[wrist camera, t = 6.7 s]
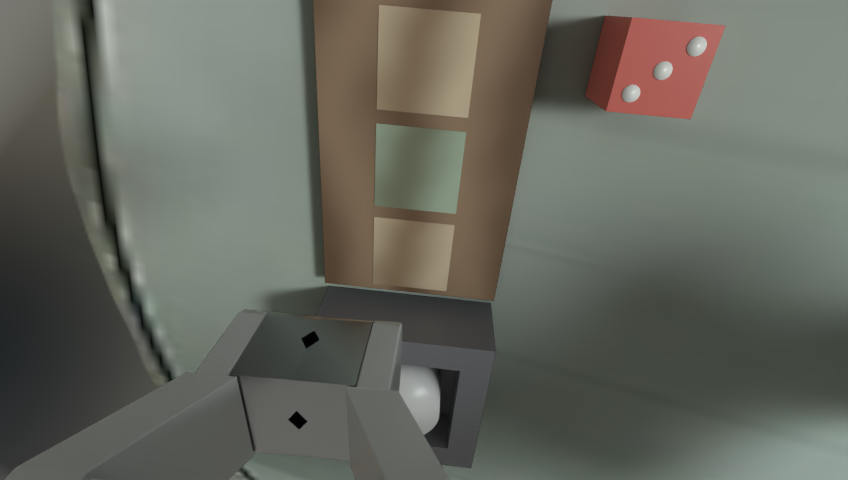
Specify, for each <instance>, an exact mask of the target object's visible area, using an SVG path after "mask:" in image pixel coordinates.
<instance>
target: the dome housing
mask: <svg viewBox="0 0 848 480" xmlns="http://www.w3.org/2000/svg"><path fill="white" fill-rule="evenodd" d="M316 316H318V317H327V318H340V319H353V320H366V321H390V322H401V323H402V329H403V331H402V357H401V364H402V365H411V366H420V367H429V368H438V370H439V372H440V375H441V393H440V412H439V419H438V422H437V424H436V425H435V427H434V428H433V429H432V430H431V431H429V432H428V433H426V434H425V435H424V436H425V438H426V440H427V441H428V443H429V445H430V447H431V448H432V450H433V452H434V454H435V455H436V457H437V459H438V461H439V462H440V464H441V465H449V466H458V467H466V468H471V466H472V461H473V457H474V452H475V447H476V443H477V438H478V433H479V428H480V424H481V419H482V414H483V410H484V405H485V400H486V395H487V391H488V386H489V381H490V377H491V372H492V367H493V363H494V358H495V353H496V349H495V339H494V329H493V319H492V309H491V303H481V302H472V301H463V300H454V299H444V298H435V297H426V296H417V295H407V294H398V293H389V292H380V291H370V290H361V289H352V288H343V287H333V286H329V288H328V290H327V292H326V295H325V297H324V299H323V301H322V303H321V305H320V307H319V309H318V312H317V314H316Z"/></svg>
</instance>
